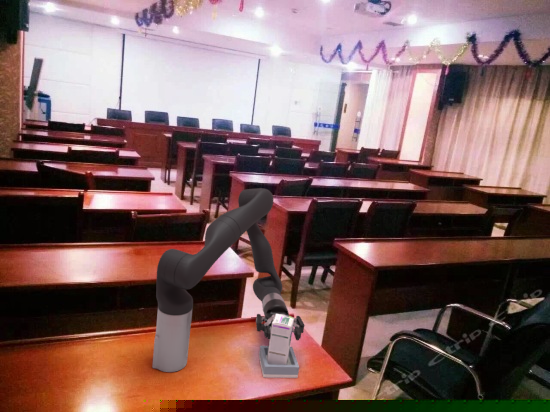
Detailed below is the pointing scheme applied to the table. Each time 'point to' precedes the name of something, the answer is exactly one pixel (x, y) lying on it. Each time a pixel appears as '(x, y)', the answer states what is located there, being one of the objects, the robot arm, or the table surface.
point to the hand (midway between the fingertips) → (283, 337)
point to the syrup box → (280, 340)
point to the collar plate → (278, 370)
